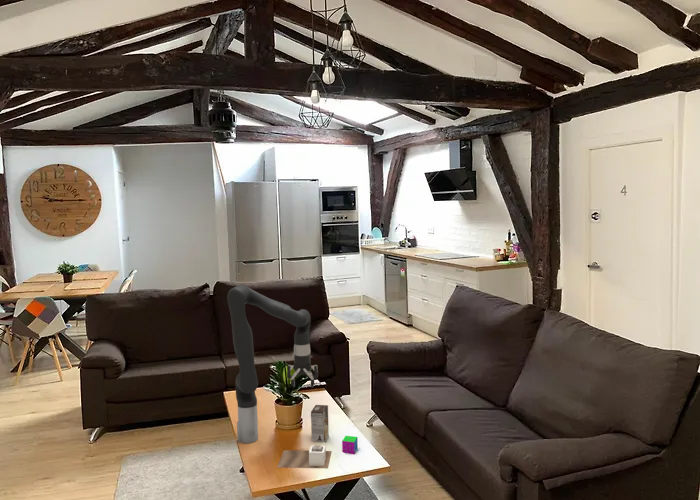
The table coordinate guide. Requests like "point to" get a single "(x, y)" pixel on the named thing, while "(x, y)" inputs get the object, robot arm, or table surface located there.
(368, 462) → the table surface
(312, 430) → the coffee box
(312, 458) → the hollow square box
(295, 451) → the post board
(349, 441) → the puzzle toy
